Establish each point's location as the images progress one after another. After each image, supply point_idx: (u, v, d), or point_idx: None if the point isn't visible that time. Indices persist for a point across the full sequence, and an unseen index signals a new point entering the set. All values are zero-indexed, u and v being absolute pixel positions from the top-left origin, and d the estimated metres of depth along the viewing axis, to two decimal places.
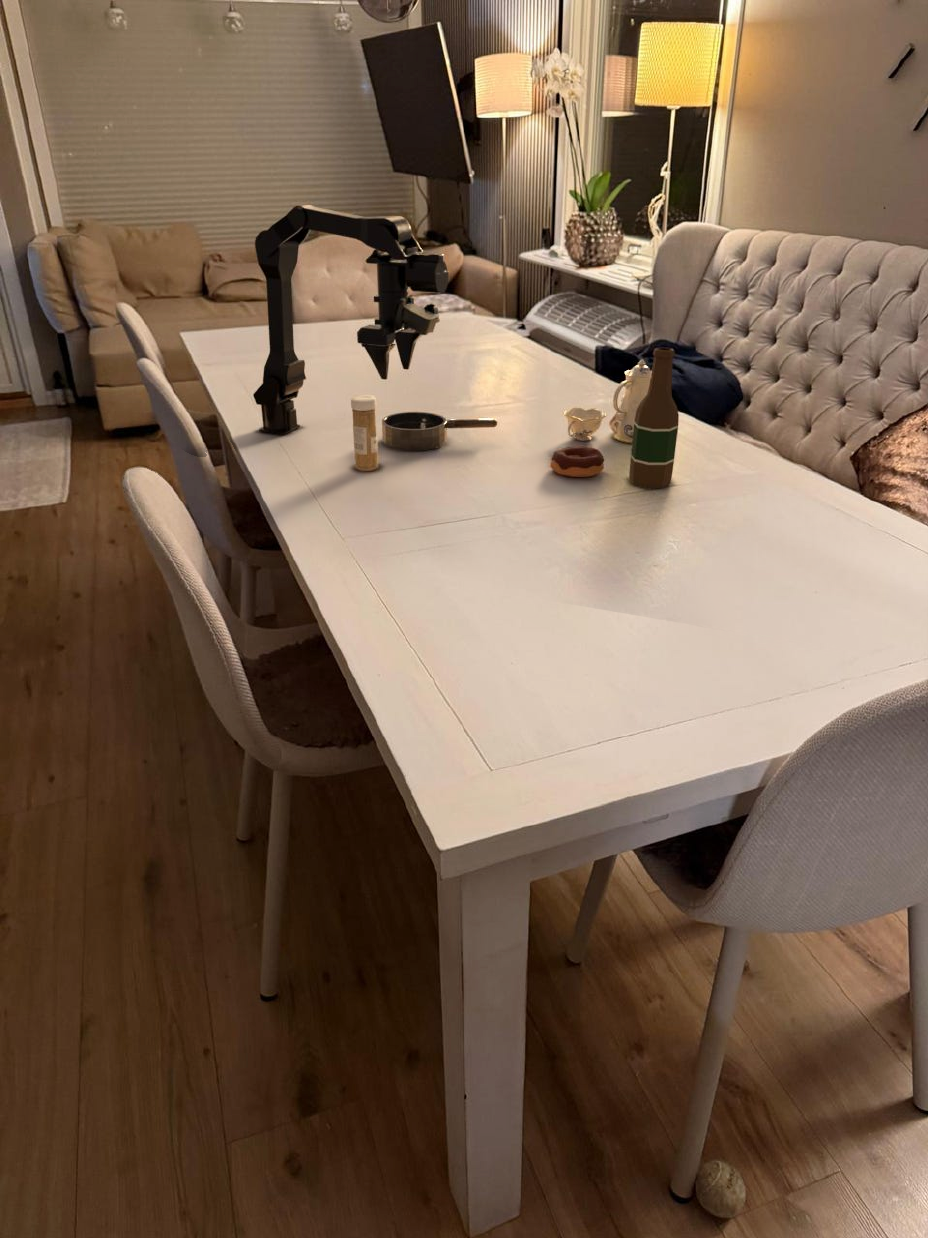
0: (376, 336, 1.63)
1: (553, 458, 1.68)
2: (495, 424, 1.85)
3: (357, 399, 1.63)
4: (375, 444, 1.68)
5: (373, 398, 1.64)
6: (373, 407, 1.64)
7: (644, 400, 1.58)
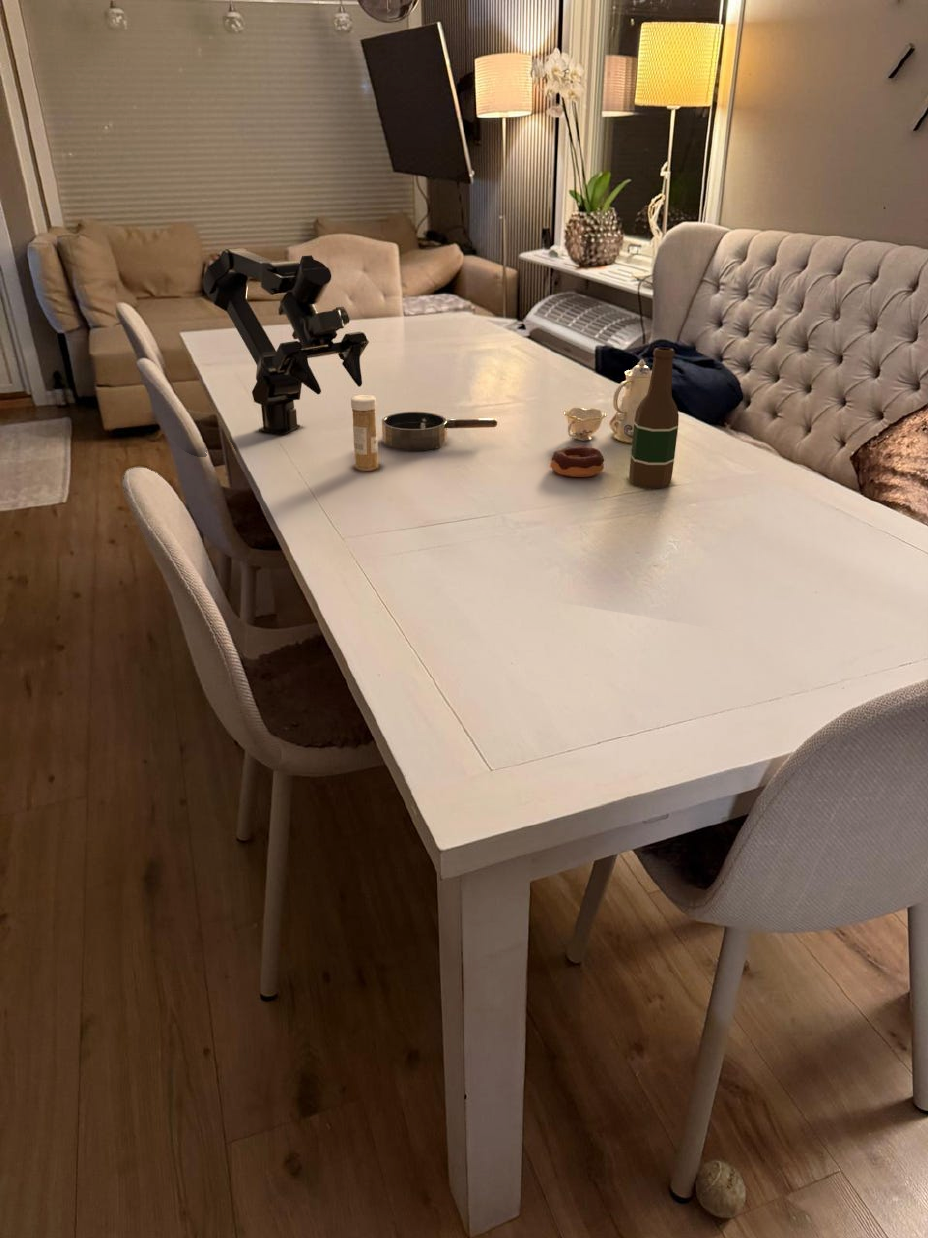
0: (279, 351, 1.64)
1: (553, 458, 1.68)
2: (495, 424, 1.85)
3: (357, 399, 1.63)
4: (375, 444, 1.67)
5: (373, 398, 1.64)
6: (373, 407, 1.64)
7: (644, 400, 1.58)
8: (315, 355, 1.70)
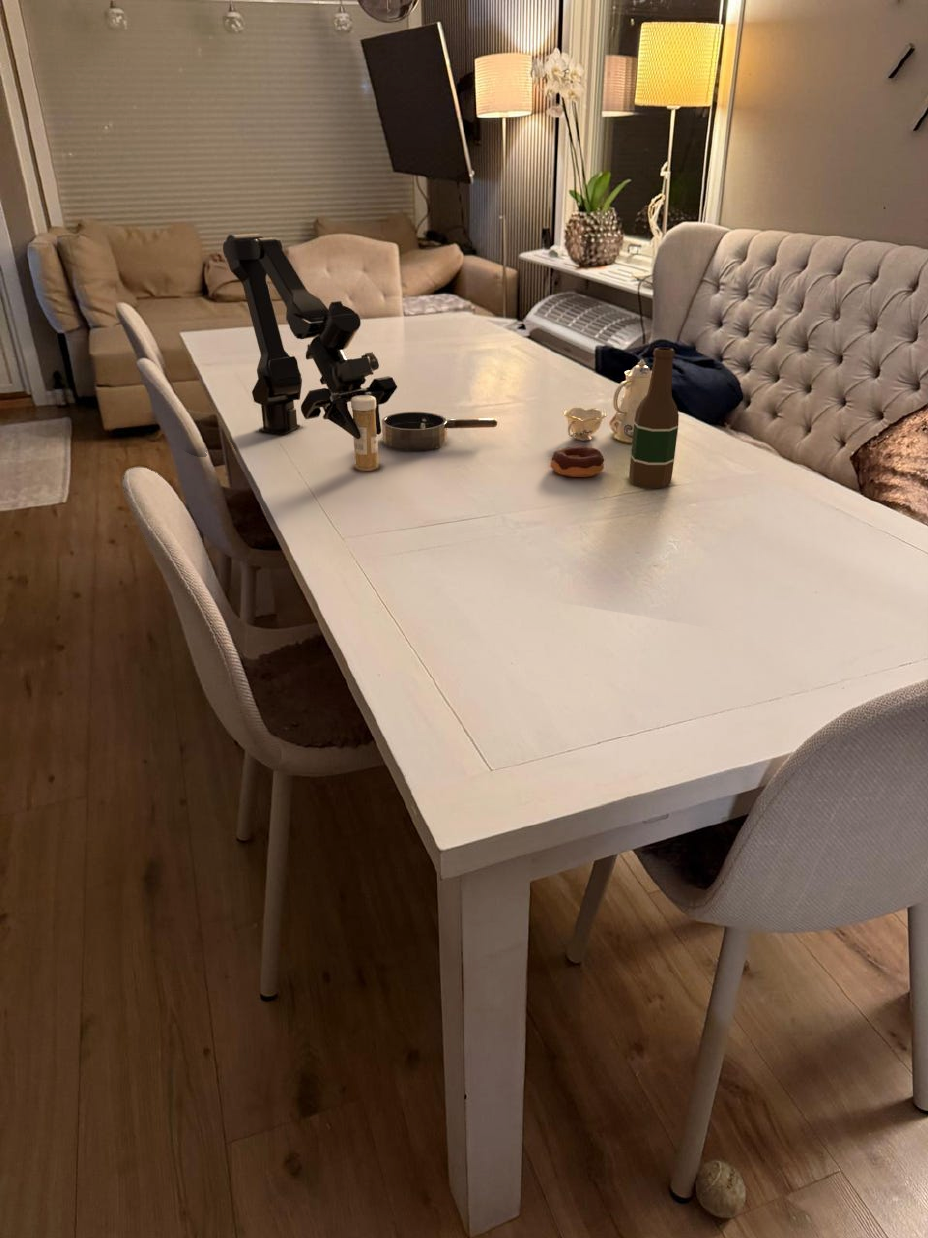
0: (307, 399, 1.61)
1: (553, 458, 1.68)
2: (495, 424, 1.85)
3: (357, 399, 1.63)
4: (375, 444, 1.68)
5: (373, 398, 1.64)
6: (373, 407, 1.64)
7: (644, 400, 1.58)
8: None
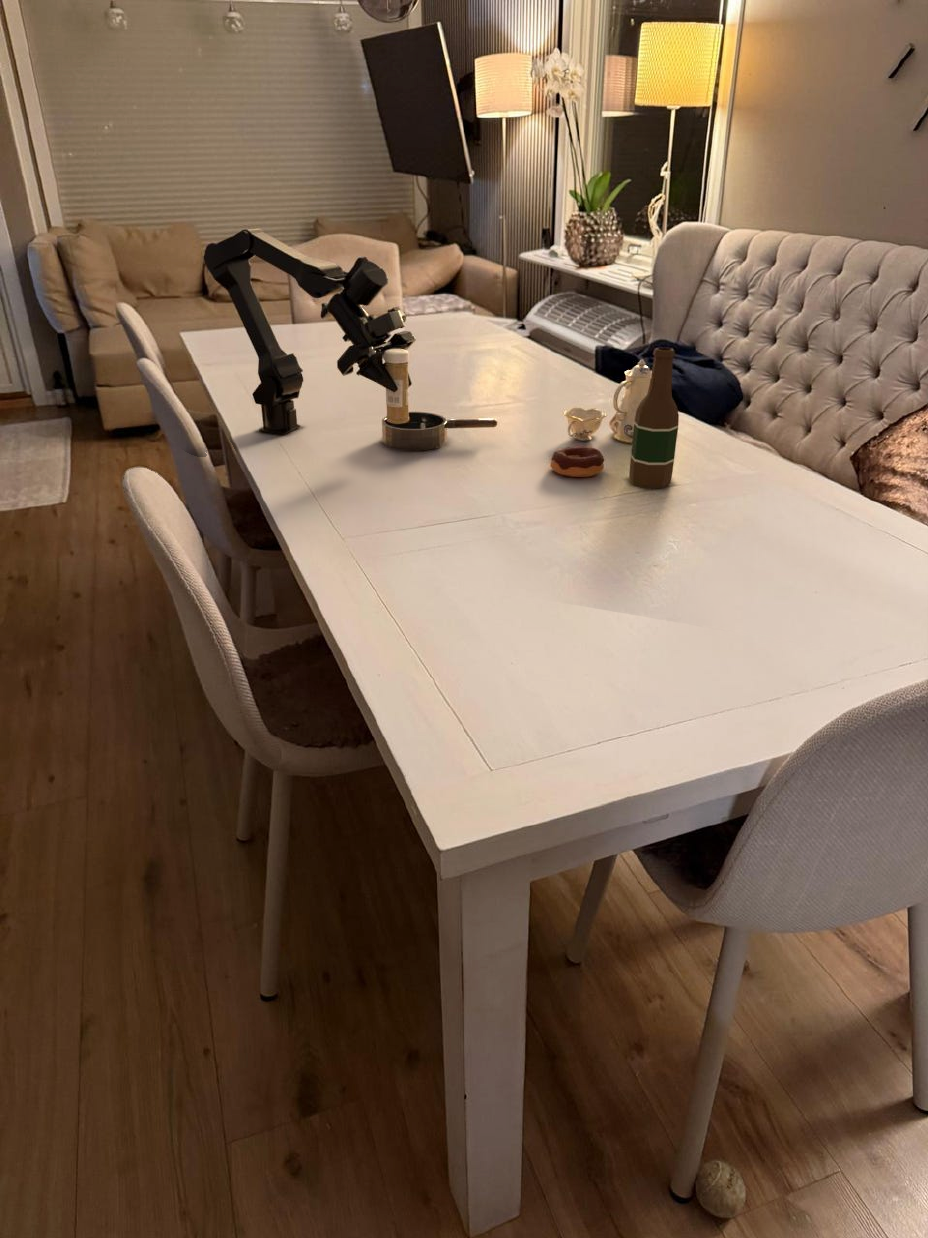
0: (348, 355, 1.63)
1: (553, 458, 1.68)
2: (495, 424, 1.85)
3: (393, 352, 1.67)
4: (408, 396, 1.72)
5: (406, 351, 1.69)
6: (408, 359, 1.69)
7: (644, 400, 1.58)
8: None
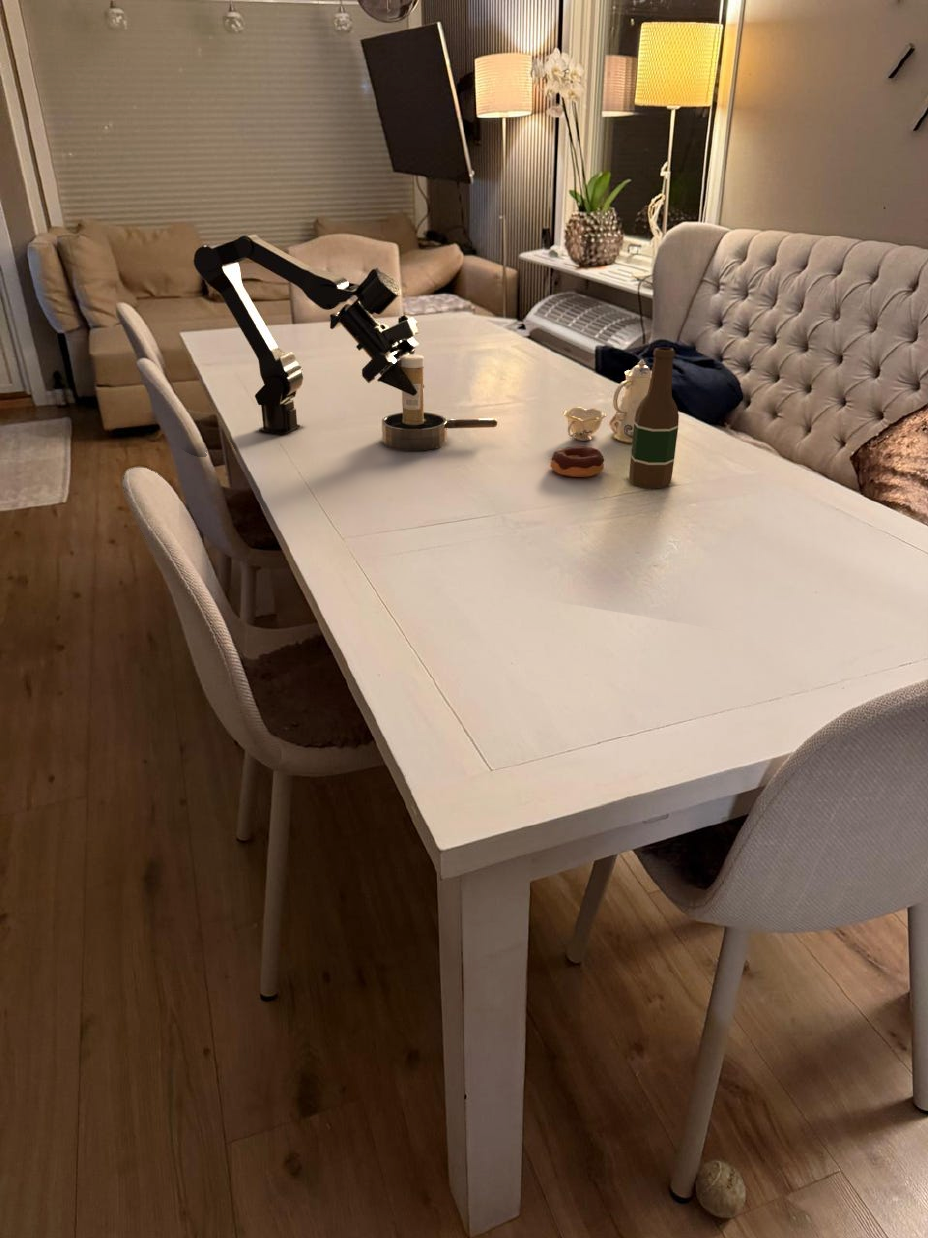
0: (376, 362, 1.70)
1: (553, 458, 1.68)
2: (495, 424, 1.85)
3: (411, 357, 1.76)
4: None
5: (421, 355, 1.78)
6: None
7: (644, 400, 1.58)
8: None
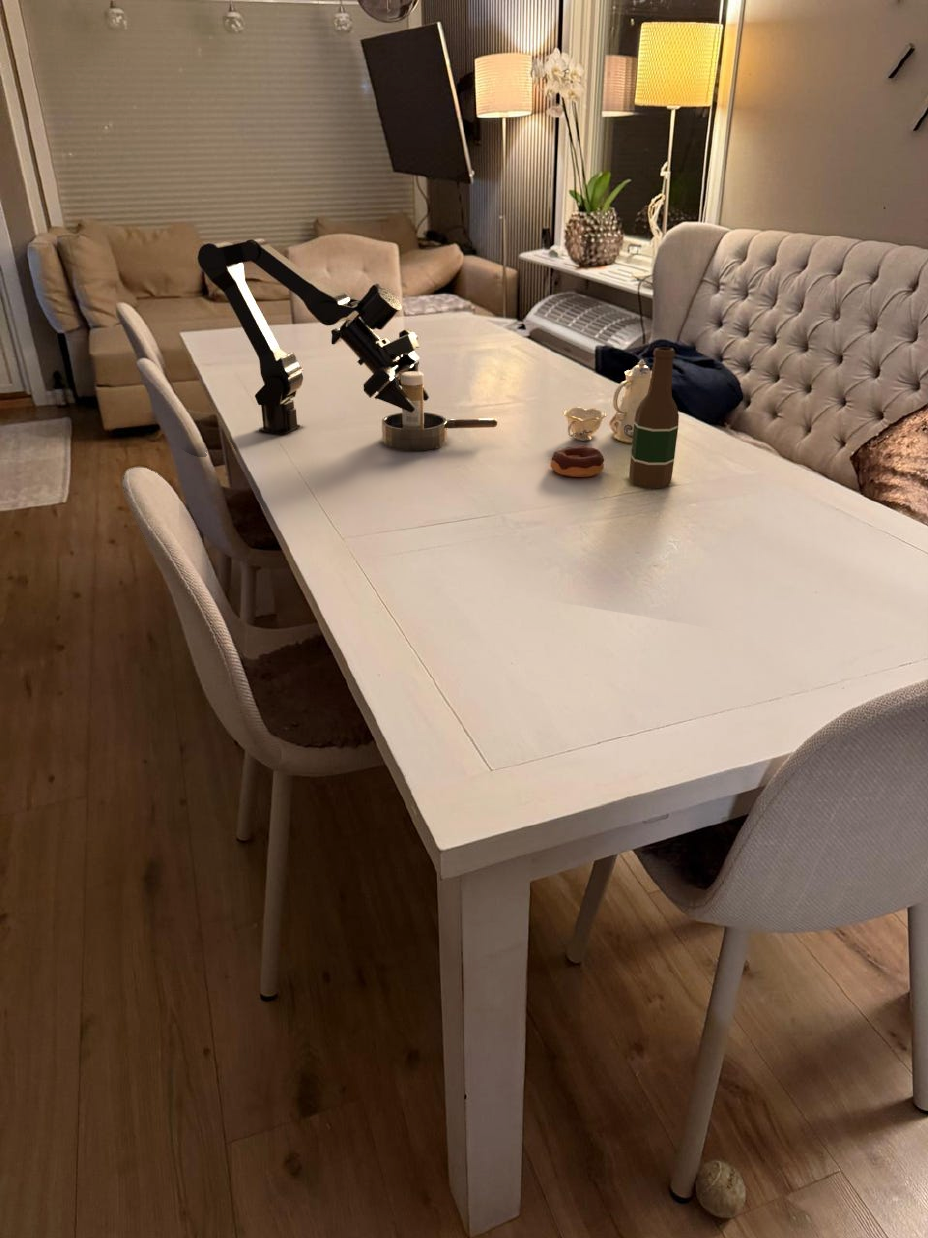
0: (378, 377, 1.71)
1: (553, 458, 1.68)
2: (495, 424, 1.85)
3: (411, 375, 1.77)
4: None
5: (420, 372, 1.79)
6: (423, 380, 1.79)
7: (644, 400, 1.58)
8: None
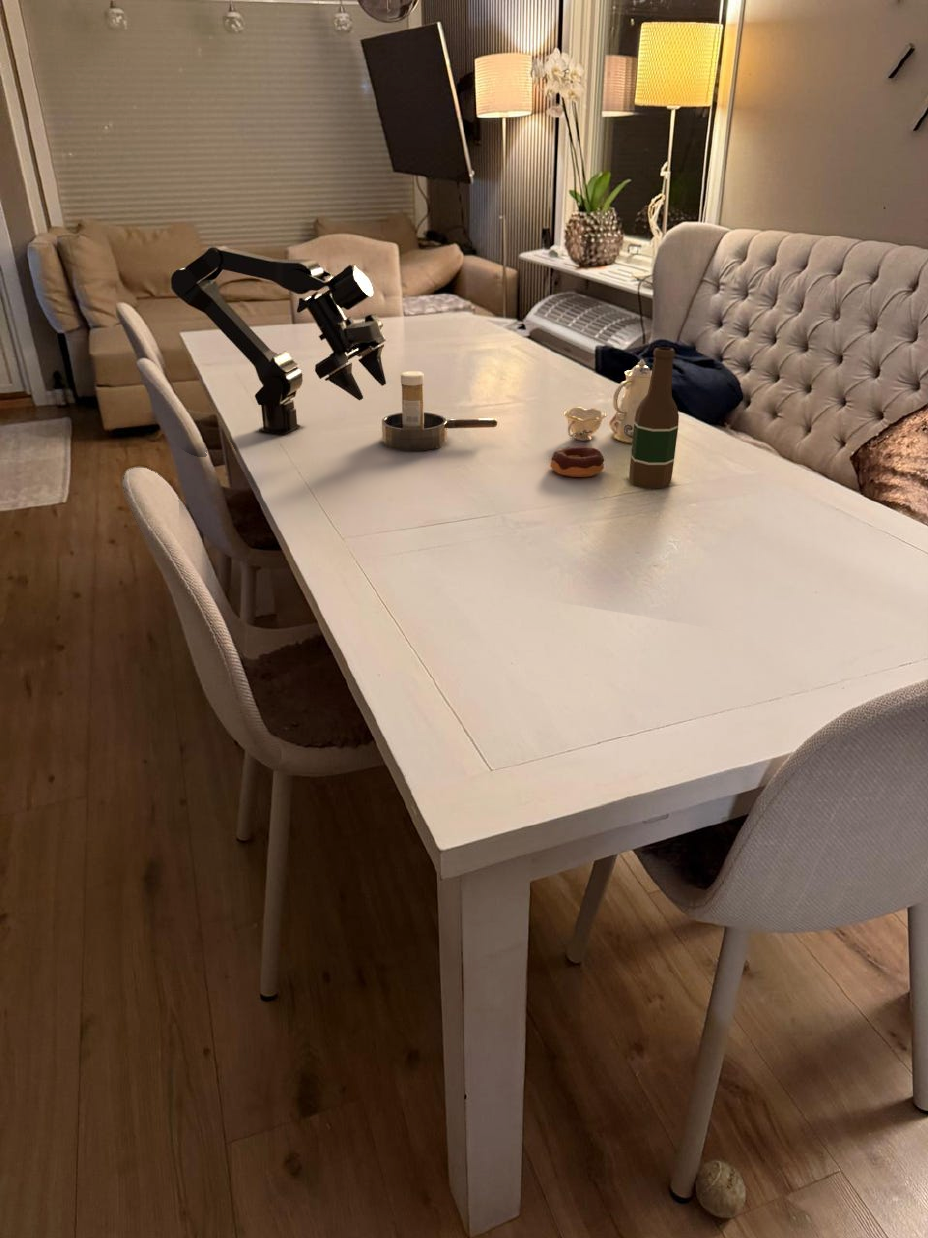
0: (328, 363, 1.72)
1: (553, 458, 1.68)
2: (495, 424, 1.85)
3: (411, 375, 1.77)
4: None
5: (420, 372, 1.79)
6: (423, 380, 1.79)
7: (644, 400, 1.58)
8: (348, 359, 1.79)
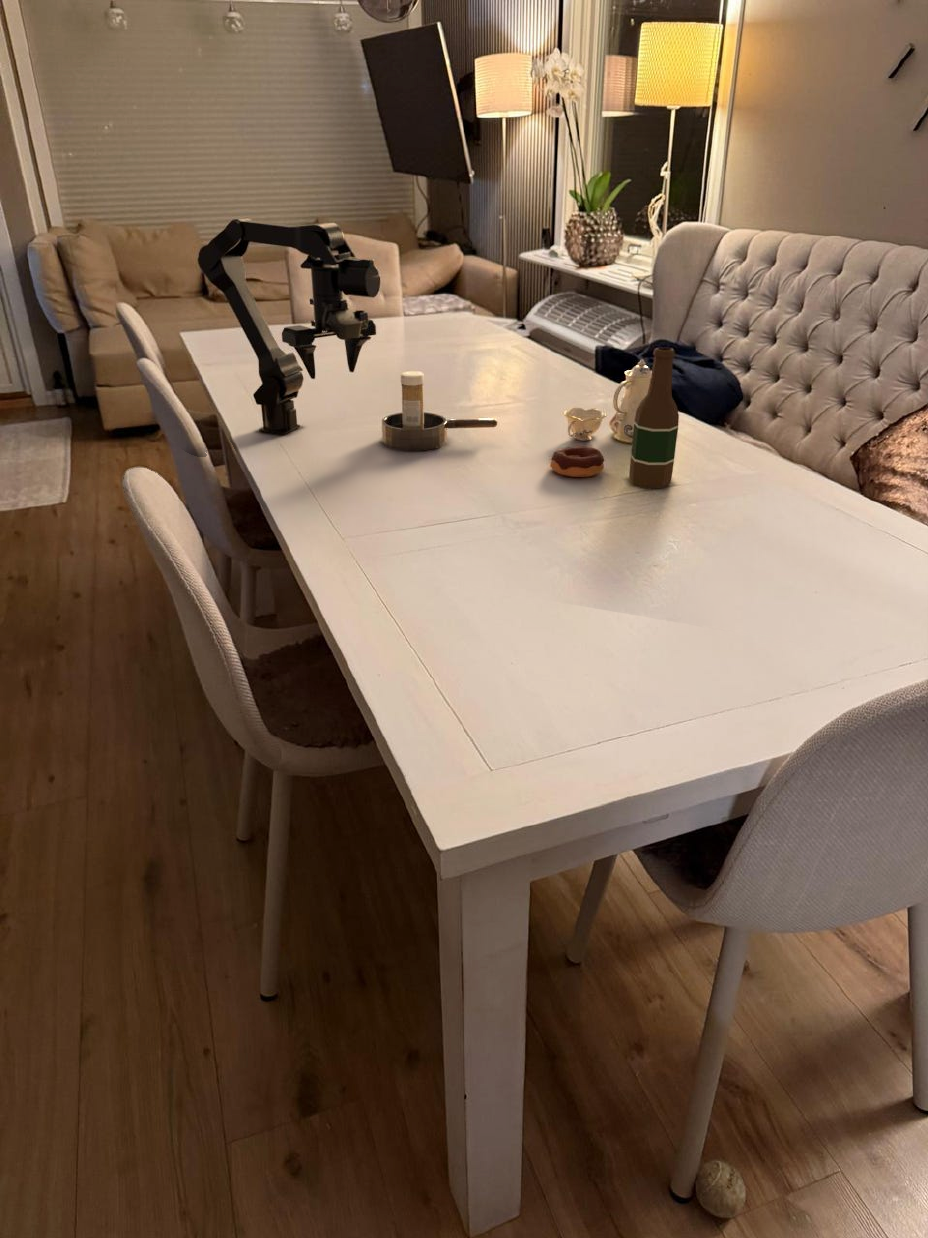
0: (291, 336, 1.70)
1: (553, 458, 1.68)
2: (495, 424, 1.85)
3: (411, 375, 1.77)
4: None
5: (420, 372, 1.79)
6: (423, 380, 1.79)
7: (644, 400, 1.58)
8: None
